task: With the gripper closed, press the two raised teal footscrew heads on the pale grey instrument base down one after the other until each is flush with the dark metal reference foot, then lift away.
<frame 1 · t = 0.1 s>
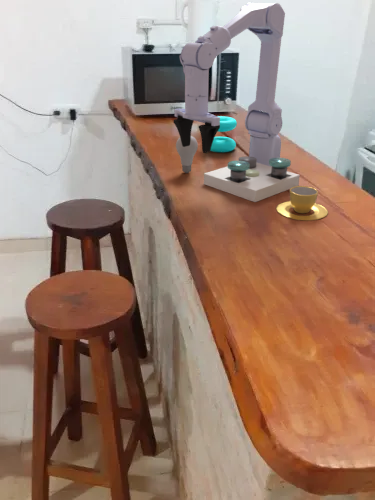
hand: (196, 149, 132), 10 cm above the countertop, fingers open, 7 cm apart
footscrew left: (279, 169, 134), point 5 cm above the countertop, slide at 2.0 cm
lightbulb: (186, 173, 146), on the countertop
instrument base: (251, 184, 137), on the countertop
donuts: (220, 149, 168), on the countertop
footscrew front: (238, 172, 132), point 5 cm above the countertop, slide at 2.0 cm
cup: (301, 212, 121), on the countertop
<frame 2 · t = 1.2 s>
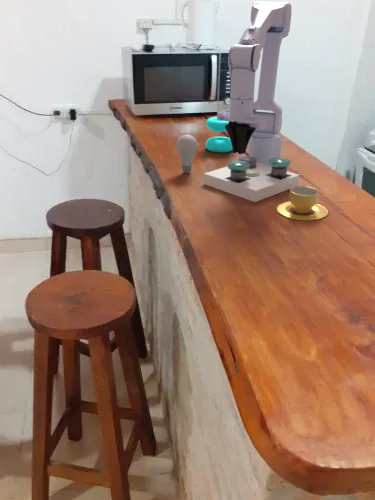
hand: (239, 152, 129), 10 cm above the countertop, fingers closed
nothing on the countertop moved.
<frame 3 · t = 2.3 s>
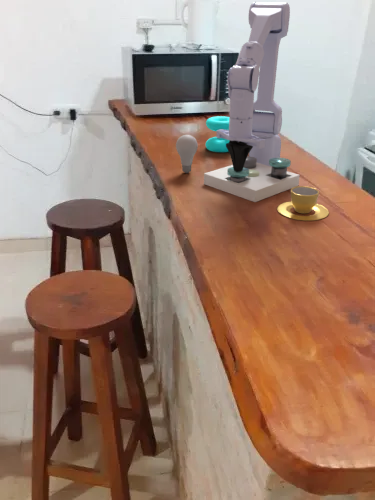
hand: (238, 170, 131), 5 cm above the countertop, fingers closed, pressing on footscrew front
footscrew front: (237, 178, 133), point 3 cm above the countertop, slide at 0.3 cm, touching gripper
everything else where it was.
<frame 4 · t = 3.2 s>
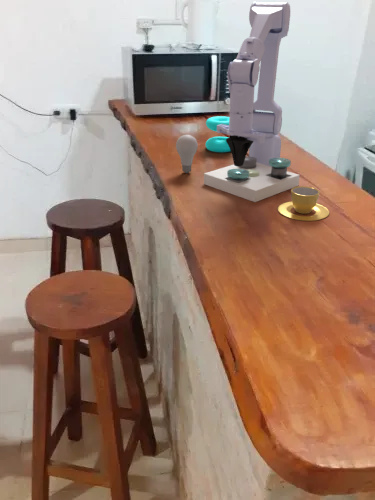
hand: (238, 165, 131), 7 cm above the countertop, fingers closed
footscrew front: (237, 180, 133), point 2 cm above the countertop, slide at -0.2 cm
everything else where it was.
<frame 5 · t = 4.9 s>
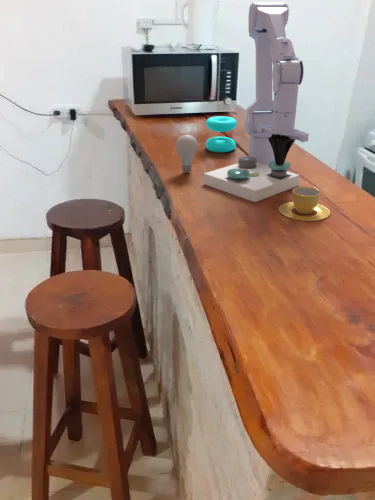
hand: (279, 163, 134), 6 cm above the countertop, fingers closed, pressing on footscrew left
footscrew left: (278, 172, 135), point 4 cm above the countertop, slide at 1.2 cm, touching gripper
everything else where it was.
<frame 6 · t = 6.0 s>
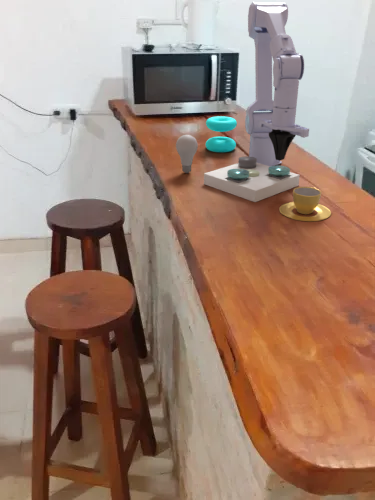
hand: (279, 159, 133), 7 cm above the countertop, fingers closed
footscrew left: (278, 177, 135), point 2 cm above the countertop, slide at -0.2 cm
everything else where it was.
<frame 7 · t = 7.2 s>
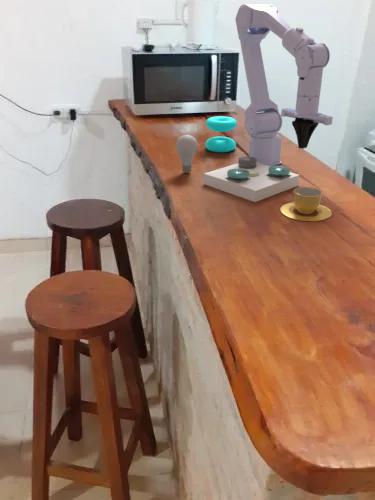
hand: (302, 147, 136), 9 cm above the countertop, fingers closed
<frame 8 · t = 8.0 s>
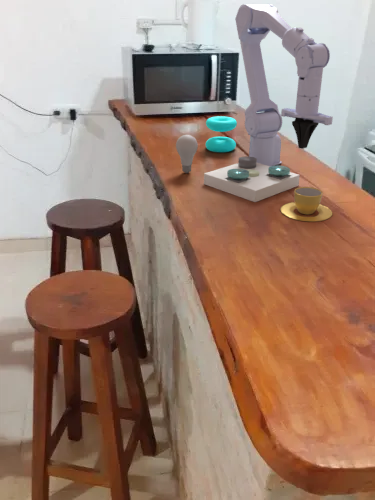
hand: (302, 147, 136), 9 cm above the countertop, fingers closed
at the end: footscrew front slide at -0.2 cm; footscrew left slide at -0.2 cm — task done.
